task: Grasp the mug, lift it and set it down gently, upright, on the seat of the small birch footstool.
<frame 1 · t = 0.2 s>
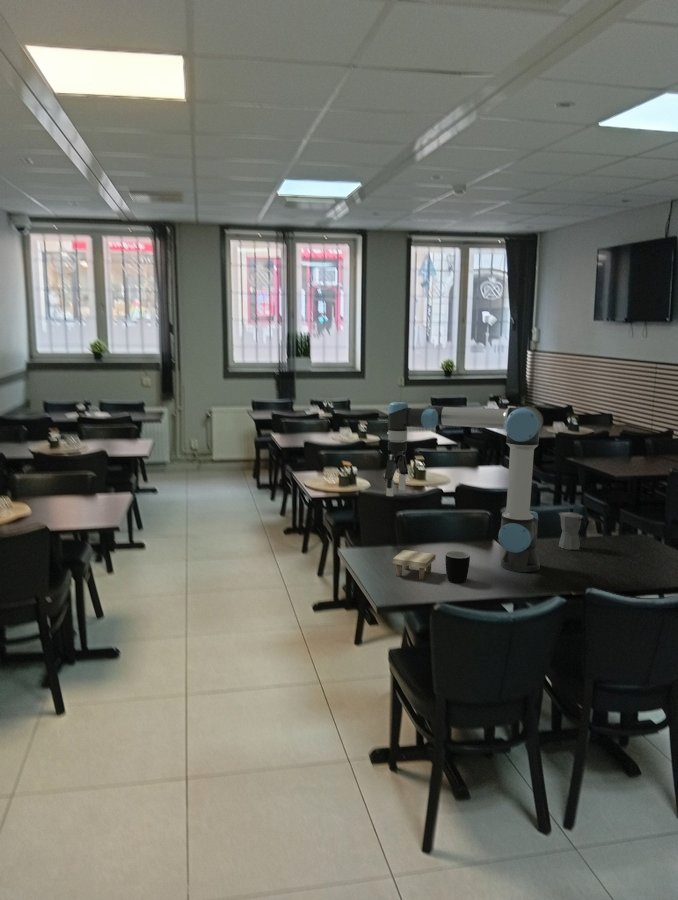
hand: (395, 493, 286), 28 cm above the table, fingers open, 13 cm apart
footstool: (413, 573, 271), on the table
mug: (455, 579, 266), on the table
coffeepot: (571, 549, 310), on the table
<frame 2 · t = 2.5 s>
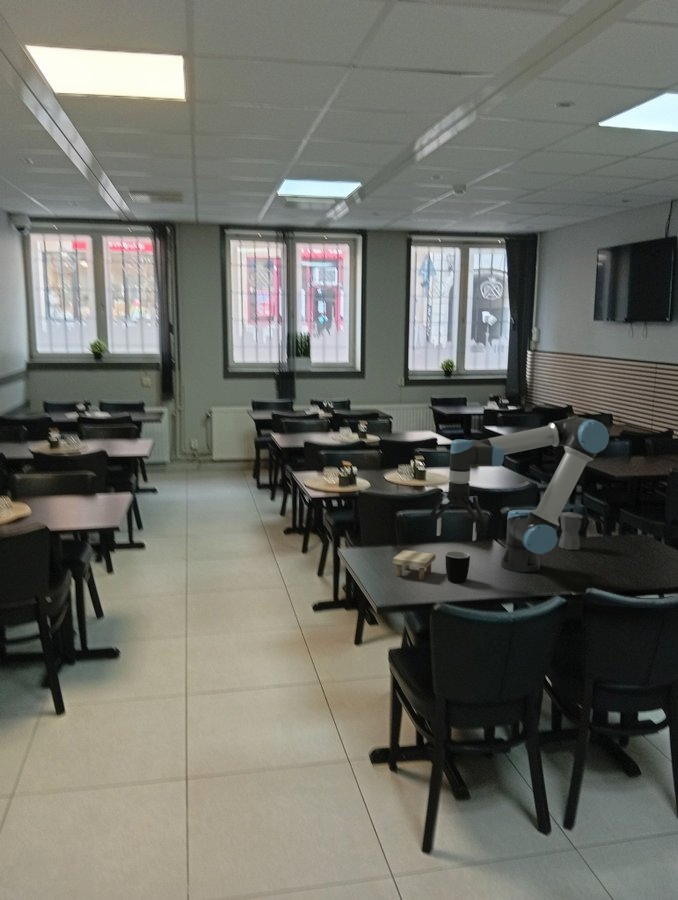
hand: (456, 537, 264), 16 cm above the table, fingers open, 13 cm apart
nothing on the table moved.
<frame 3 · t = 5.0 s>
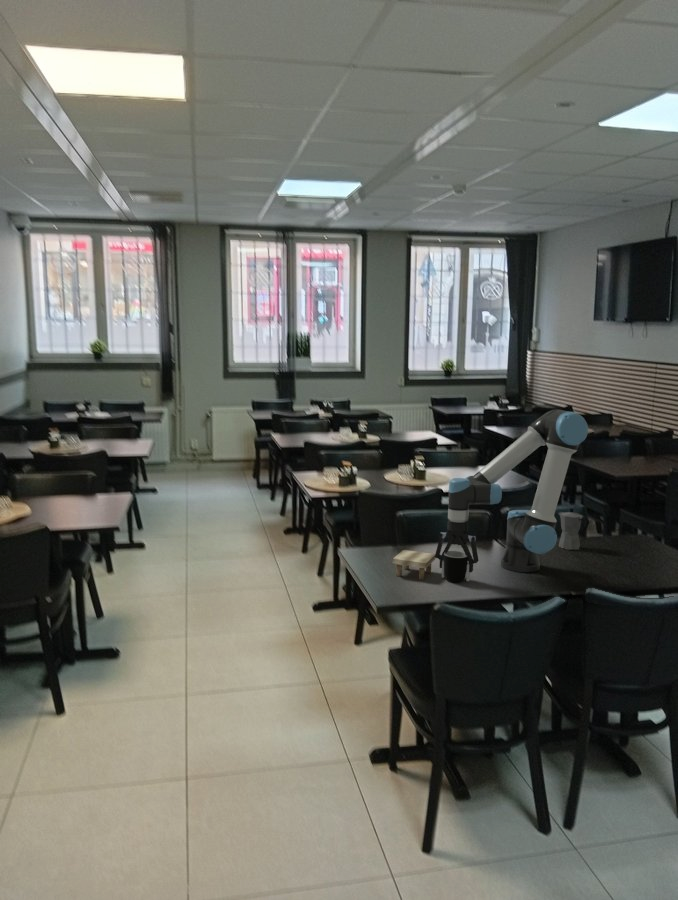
hand: (455, 578, 266), 0 cm above the table, fingers closed on mug, 9 cm apart
mug: (453, 579, 266), on the table, touching gripper
everything else where it was.
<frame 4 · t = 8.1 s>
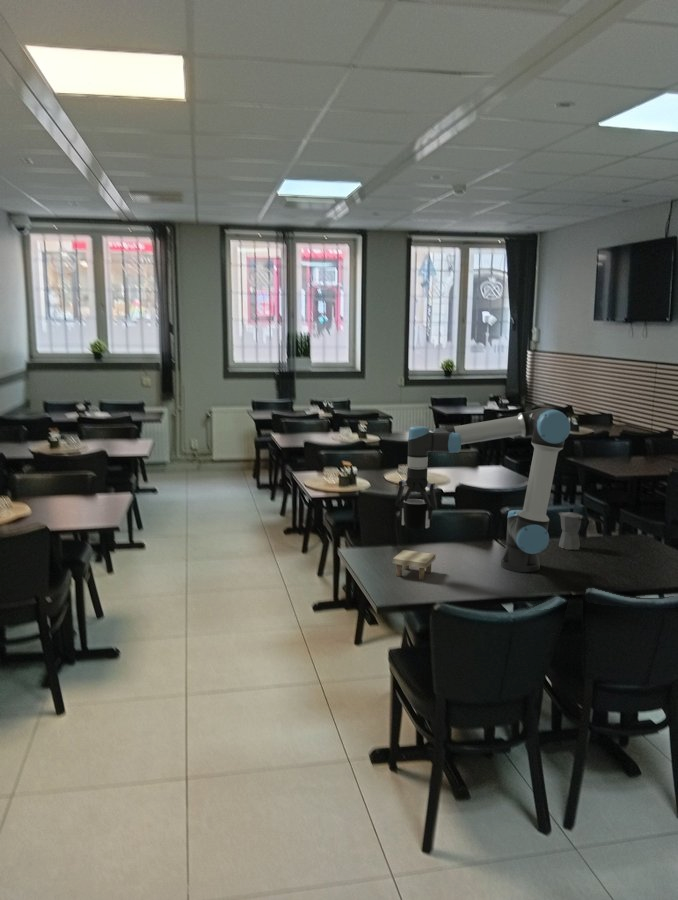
hand: (415, 525, 269), 19 cm above the table, fingers closed on mug, 9 cm apart
mug: (413, 527, 269), point 18 cm above the table, touching gripper
everything else where it was.
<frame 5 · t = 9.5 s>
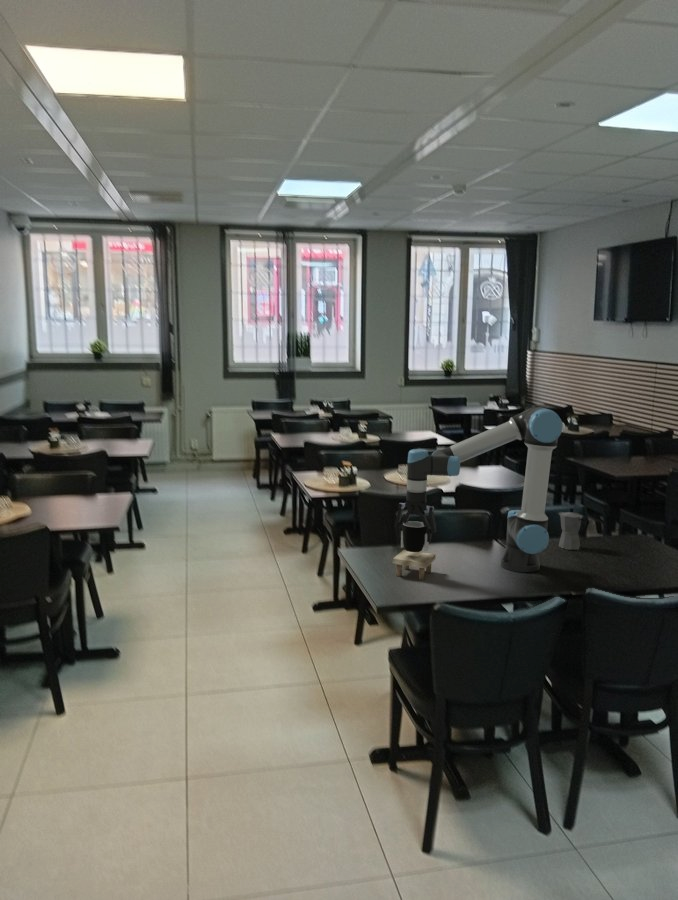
hand: (414, 548, 270), 10 cm above the table, fingers closed on mug, 9 cm apart
mug: (412, 549, 270), point 10 cm above the table, touching gripper
everything else where it was.
when the fingers open (8 cm above the table, at t = 10.8 s): mug stays where it is, resting on footstool.
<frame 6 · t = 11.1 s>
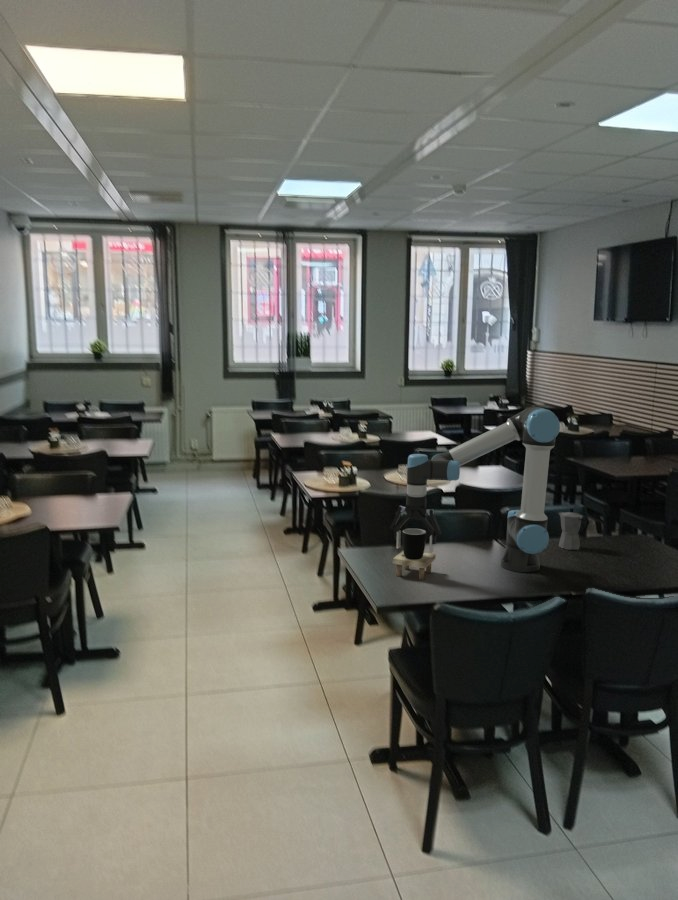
hand: (414, 550, 270), 10 cm above the table, fingers open, 12 cm apart
mug: (412, 556, 271), point 7 cm above the table, touching footstool
everything else where it was.
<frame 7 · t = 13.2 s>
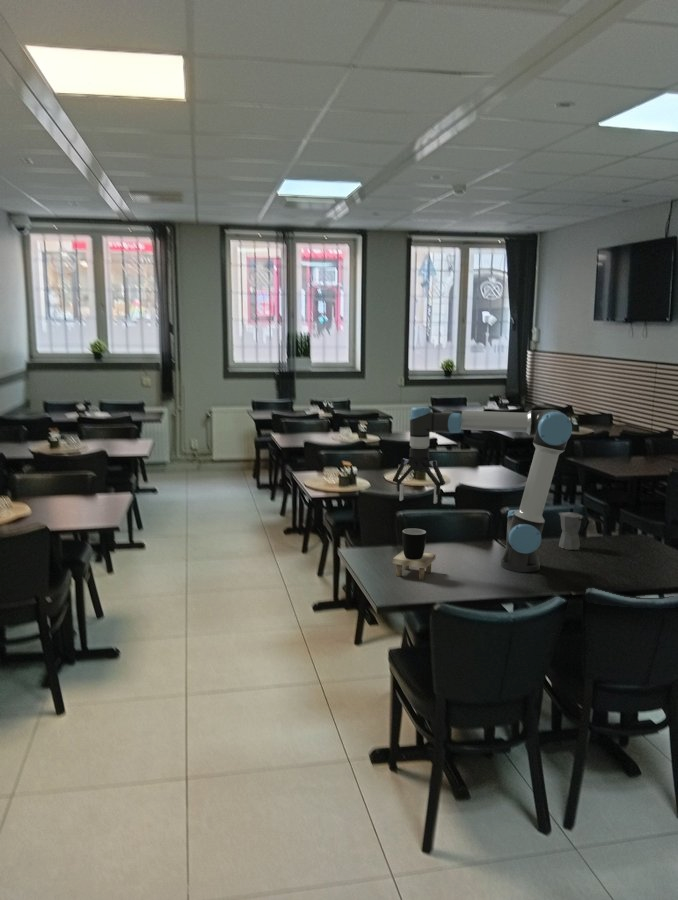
hand: (418, 501, 274), 27 cm above the table, fingers open, 13 cm apart
nothing on the table moved.
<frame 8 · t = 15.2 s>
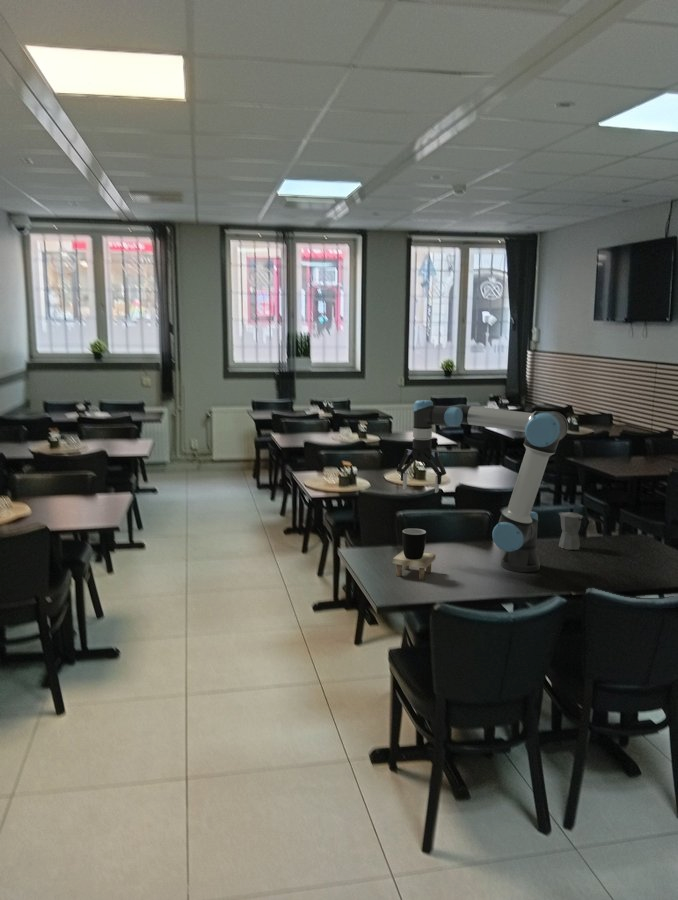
hand: (420, 490, 287), 29 cm above the table, fingers open, 13 cm apart
nothing on the table moved.
at the end: mug inside the target area on the footstool (0.8 cm from its centre), point 6.8 cm above the footstool's base; mug tilted 0°; the gripper is holding nothing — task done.
